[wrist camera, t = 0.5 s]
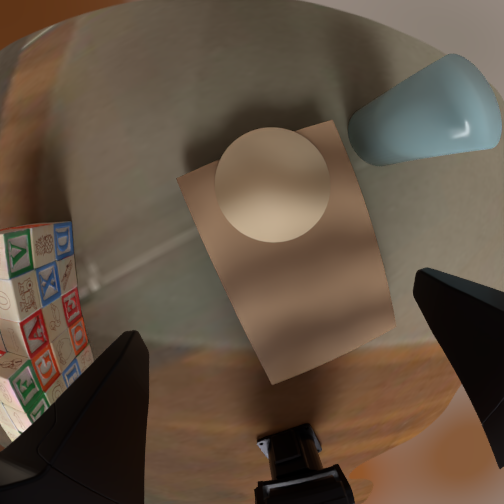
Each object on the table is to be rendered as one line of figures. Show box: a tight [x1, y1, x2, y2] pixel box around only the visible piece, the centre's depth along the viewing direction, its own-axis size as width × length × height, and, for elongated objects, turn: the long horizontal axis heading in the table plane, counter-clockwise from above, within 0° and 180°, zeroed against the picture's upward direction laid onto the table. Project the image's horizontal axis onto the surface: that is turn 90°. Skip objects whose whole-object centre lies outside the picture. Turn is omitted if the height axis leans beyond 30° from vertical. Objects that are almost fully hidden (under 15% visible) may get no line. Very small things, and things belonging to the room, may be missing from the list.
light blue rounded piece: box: [348, 54, 502, 166], centre depth 15 cm, size 6×6×12 cm
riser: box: [176, 120, 396, 385], centre depth 21 cm, size 19×12×3 cm, turn 22°
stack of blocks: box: [0, 221, 94, 442], centre depth 16 cm, size 21×6×12 cm, turn 179°
